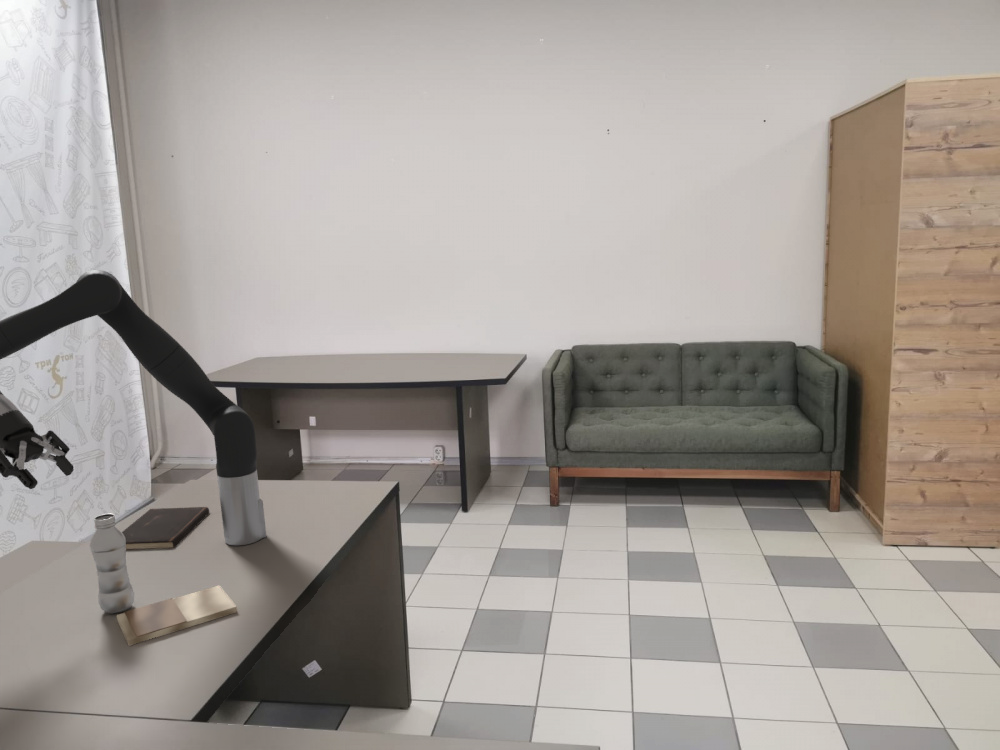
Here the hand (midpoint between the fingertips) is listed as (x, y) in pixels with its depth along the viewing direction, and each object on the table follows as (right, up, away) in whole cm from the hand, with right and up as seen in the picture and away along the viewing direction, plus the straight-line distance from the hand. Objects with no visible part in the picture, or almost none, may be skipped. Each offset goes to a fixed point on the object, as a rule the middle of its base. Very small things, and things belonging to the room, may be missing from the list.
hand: (53, 479), depth 158 cm
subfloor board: (+26, -27, -3) cm, 38 cm away
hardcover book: (+3, -20, +43) cm, 48 cm away
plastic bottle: (+12, -27, +1) cm, 30 cm away
